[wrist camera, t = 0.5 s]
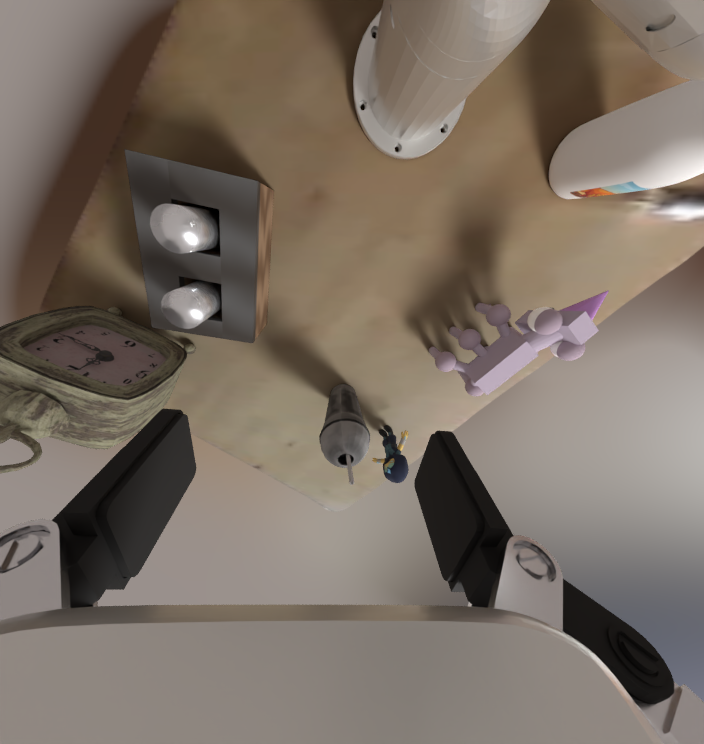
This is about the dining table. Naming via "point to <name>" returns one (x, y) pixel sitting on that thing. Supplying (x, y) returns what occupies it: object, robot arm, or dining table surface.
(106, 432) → the tabletop clock
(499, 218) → the dining table surface
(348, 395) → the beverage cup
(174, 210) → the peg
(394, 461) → the character figure
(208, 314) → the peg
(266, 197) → the peg block
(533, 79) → the dining table surface
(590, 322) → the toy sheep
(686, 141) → the milk bottle
